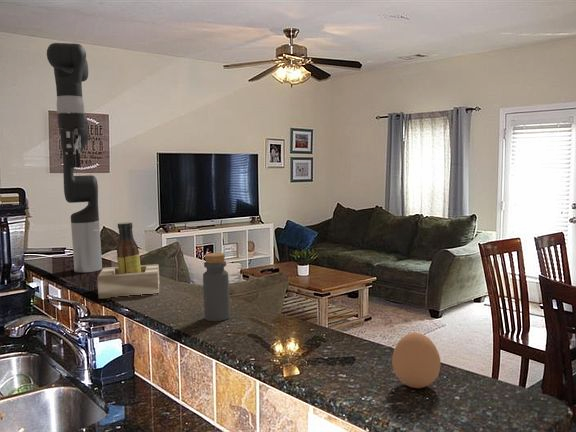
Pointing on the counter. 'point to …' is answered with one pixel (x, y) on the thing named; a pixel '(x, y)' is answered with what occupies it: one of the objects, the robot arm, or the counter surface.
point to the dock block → (128, 282)
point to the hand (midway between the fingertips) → (74, 167)
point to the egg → (416, 360)
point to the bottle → (216, 288)
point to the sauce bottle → (127, 250)
